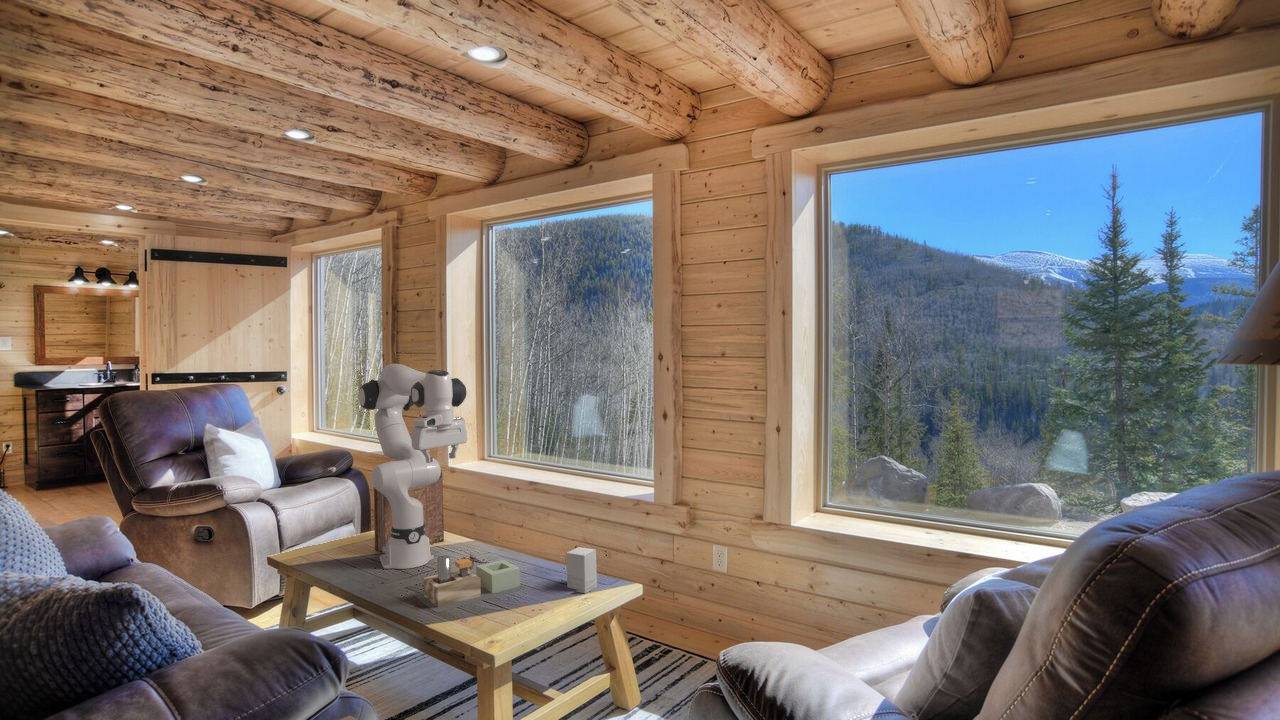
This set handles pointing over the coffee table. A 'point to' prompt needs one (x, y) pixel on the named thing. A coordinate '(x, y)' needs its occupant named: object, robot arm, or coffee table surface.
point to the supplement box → (581, 569)
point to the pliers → (474, 561)
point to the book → (431, 513)
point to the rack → (498, 576)
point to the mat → (484, 595)
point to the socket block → (452, 589)
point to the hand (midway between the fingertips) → (441, 460)
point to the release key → (463, 566)
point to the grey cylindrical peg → (443, 569)
